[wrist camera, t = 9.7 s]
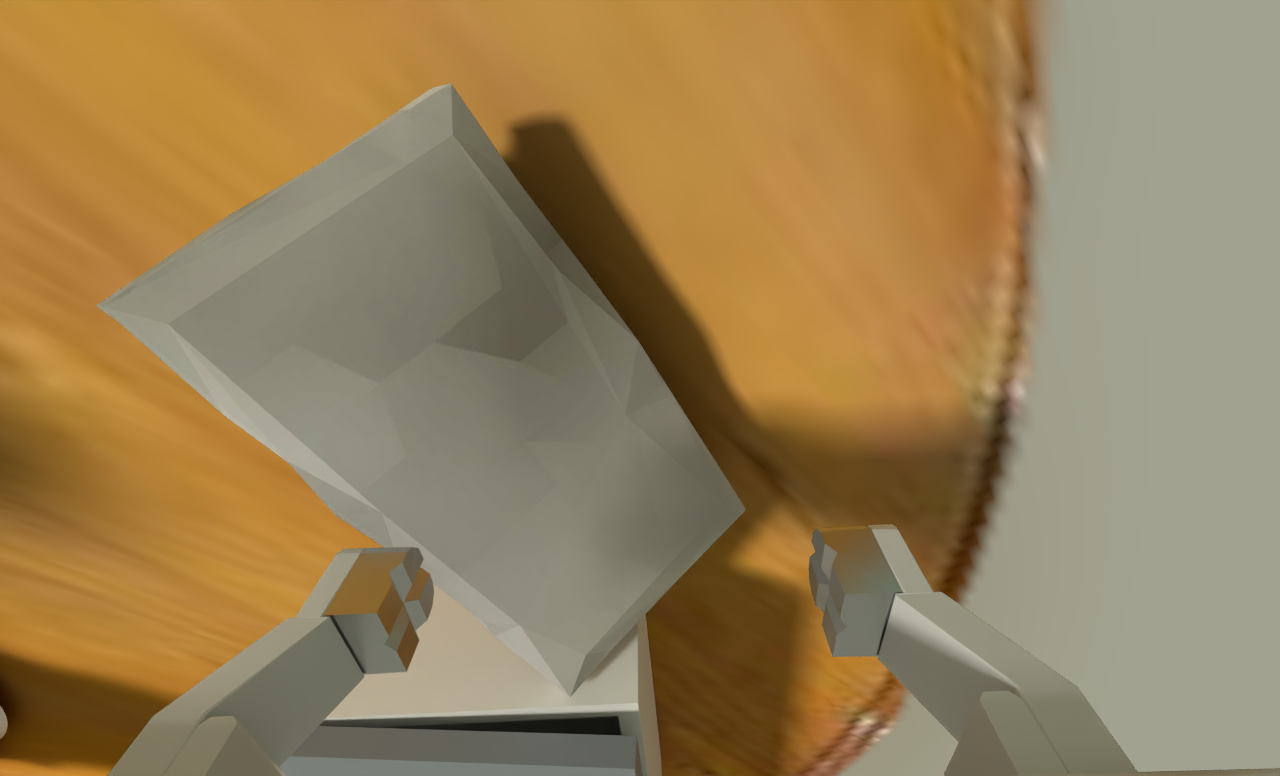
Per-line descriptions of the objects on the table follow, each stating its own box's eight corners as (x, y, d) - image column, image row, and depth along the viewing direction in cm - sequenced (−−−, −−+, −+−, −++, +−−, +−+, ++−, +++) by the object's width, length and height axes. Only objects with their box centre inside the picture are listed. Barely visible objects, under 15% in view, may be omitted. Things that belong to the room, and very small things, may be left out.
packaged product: (433, 114, 18) (152, 296, 15) (456, 63, 13) (71, 305, 11) (691, 472, 25) (533, 629, 23) (756, 511, 21) (571, 709, 19)
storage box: (465, 766, 38) (427, 922, 31) (358, 552, 26) (260, 721, 19) (661, 757, 37) (667, 913, 30) (637, 536, 26) (638, 703, 19)
